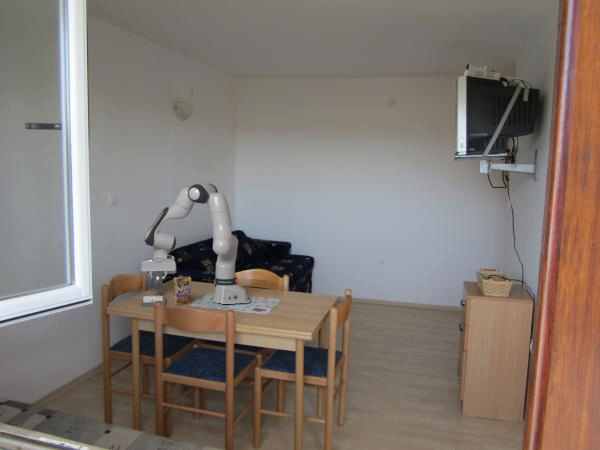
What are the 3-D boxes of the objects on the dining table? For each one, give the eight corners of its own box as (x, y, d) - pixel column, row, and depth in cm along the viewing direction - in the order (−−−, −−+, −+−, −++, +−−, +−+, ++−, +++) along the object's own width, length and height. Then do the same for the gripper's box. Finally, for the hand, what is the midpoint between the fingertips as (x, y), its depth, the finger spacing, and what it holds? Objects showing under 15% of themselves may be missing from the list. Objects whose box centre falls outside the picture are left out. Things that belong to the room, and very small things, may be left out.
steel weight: (163, 286, 273) (162, 273, 272) (162, 288, 268) (162, 275, 267) (154, 286, 272) (154, 273, 271) (153, 288, 267) (153, 275, 266)
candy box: (175, 305, 255) (175, 278, 254) (172, 303, 259) (173, 277, 257) (190, 303, 260) (191, 277, 259) (188, 302, 264) (188, 275, 262)
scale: (166, 300, 264) (166, 291, 264) (164, 306, 252) (164, 297, 251) (144, 301, 262) (144, 291, 261) (141, 307, 250) (141, 297, 249)
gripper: (141, 256, 273) (138, 276, 265) (176, 256, 277) (175, 275, 269) (142, 262, 278) (140, 282, 269) (177, 262, 282) (176, 281, 273)
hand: (157, 279), depth 269 cm, fingers closed on steel weight, 5 cm apart
